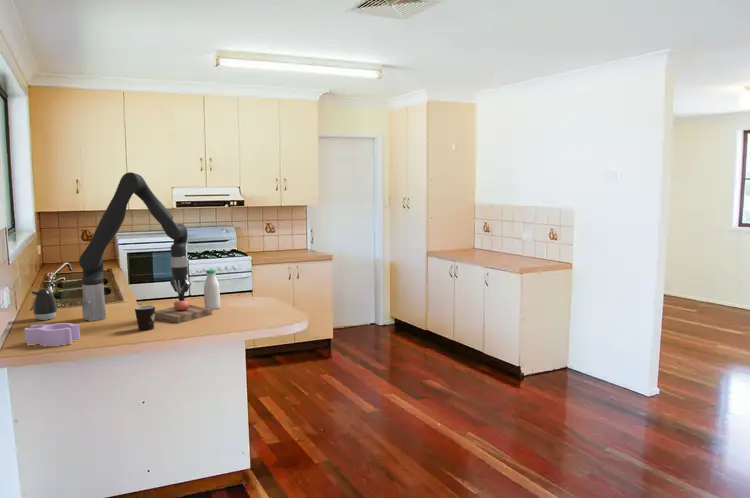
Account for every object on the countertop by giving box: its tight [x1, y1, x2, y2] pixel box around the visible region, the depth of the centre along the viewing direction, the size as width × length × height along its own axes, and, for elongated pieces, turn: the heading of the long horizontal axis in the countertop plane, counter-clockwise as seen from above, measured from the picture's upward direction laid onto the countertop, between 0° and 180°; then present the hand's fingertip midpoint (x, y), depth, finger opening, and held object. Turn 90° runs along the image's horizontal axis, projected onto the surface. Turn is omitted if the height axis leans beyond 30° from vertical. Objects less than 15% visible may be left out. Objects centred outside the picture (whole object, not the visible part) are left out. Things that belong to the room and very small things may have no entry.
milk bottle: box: [203, 268, 221, 310], centre depth 313 cm, size 8×8×20 cm
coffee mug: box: [134, 304, 156, 332], centre depth 274 cm, size 12×9×10 cm
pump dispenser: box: [31, 287, 58, 321], centre depth 295 cm, size 10×10×15 cm
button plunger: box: [173, 300, 190, 310], centre depth 297 cm, size 7×7×3 cm
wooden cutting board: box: [154, 304, 213, 324], centre depth 297 cm, size 20×20×3 cm
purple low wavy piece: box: [24, 322, 81, 346], centre depth 253 cm, size 20×12×7 cm, turn 88°
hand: (181, 300), depth 296 cm, fingers closed
